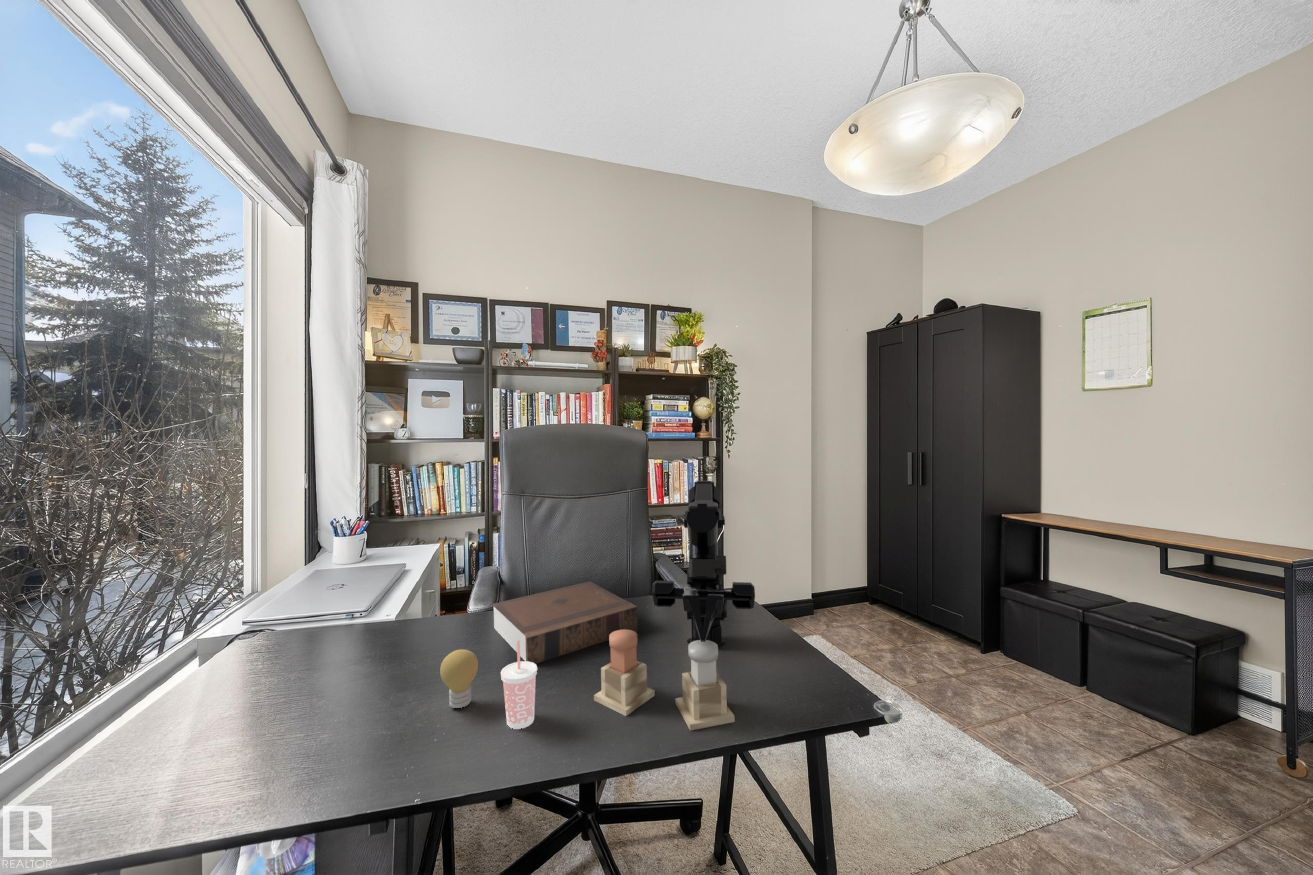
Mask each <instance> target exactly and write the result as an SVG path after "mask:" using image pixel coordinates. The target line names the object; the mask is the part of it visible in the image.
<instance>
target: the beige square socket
mask: <svg viewBox="0 0 1313 875" xmlns="http://www.w3.org/2000/svg"><path fill="white" fill-rule="evenodd" d="M681 689H682V690H681V691H682V692H681V693H682V696H681V697H676V698H675V706H676V707H677V709H678V710H679V712H680V715H681V716H682V718H683V720H684V721H685V723H686V724H685V725H686V726H687V727H688V729H689V731H696V730H701V729H705V728H711V727H716V726H721V725H726V724H730V723H735V722H736V721H735V718H736V717H735V715H734V713H733V712H732V711H731V709H730V708H729V706H728V705H727V700H728V699H727V684H726V683H725V681H724V680H723V679H722V678H721V676H720V675H719V674H718V673H717V671H716V684H710V685H705V686H699V687H697V686H696V685H695V683H694V682H693V680H692V679H691V671H688V672H687V671H686V672H682V673H681Z"/></svg>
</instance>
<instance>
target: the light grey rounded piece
mask: <svg viewBox="0 0 1313 875" xmlns="http://www.w3.org/2000/svg"><path fill="white" fill-rule="evenodd" d="M687 654H688V658H689V659H690V668H691V669H690V672H691V679H692V680H693V682H694V683H695V685H696V686H697V687H699V686H705V685H710V684H716V672H717V660H718V658H719V646H718V645H717V644H716V643H714V642H712V641H709V640H706V641H705V642H701V641H700V640H696V641H693V642H691V643H688V652H687Z"/></svg>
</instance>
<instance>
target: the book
mask: <svg viewBox="0 0 1313 875" xmlns="http://www.w3.org/2000/svg"><path fill="white" fill-rule="evenodd" d="M491 606H493V626H494V628H493V629H495V631H496V632H497V633H498V634H499V635H500V636H501V637H502V639H503V640H504V641H506V643H508V645H509V646H510V648H512V649H513V650H514V651H515V652H516V653H517V641H520V658H522V660H524V661H528V662H533V663H534V664H536V665H537V664H539V663H542V662H545V661H549V660H552V659H555V658H558V657H561V656H564V655H566V654H570V653H572V652H576V651H579V650H583V649H585V648H588V647H592V646H595V645H598V644H601V643H604V642H607V641H609V635H610V634H611V633H612V632H614V631H617V630H632V631H634V632H638V606H637V605H636V604H633V603H632V602H630V601H627V600H626V599H624V598H622V597H620V596H618V595H616V594H614V593H613V592H611V591H609V590H607V589H605V588H603V587H601V586H599V585H598V584H596V583H595V582H592V581H585V582H581V583H576V584H573V585H568V586H564V587H559V588H556V589H555V588H554V589H550V590H545V591H543V592H542V591H541V592H537V593H534V594H530V595H525V596H521V597H516V598H511V599H508V600H504V601H500V602H495V603H491Z"/></svg>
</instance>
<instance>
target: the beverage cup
mask: <svg viewBox="0 0 1313 875" xmlns="http://www.w3.org/2000/svg"><path fill="white" fill-rule="evenodd" d="M516 658H517V661H516V662H515V661H514V662H512V663H509V664H507V665H505V667H502V669H501V670H500V679H501V681H502V683H503V684H502V685H503V698H504V707H505V716H506V718H505V719H506V726H507V725H508V726H509V727H510V728H509V727H508V726H507V727H508V728H509V729H512V728H513V729H512V730H521V728H522V729H526V728H527V727H530V725H532V724H533V723H534V720H535V708H536V706H535V705H536V679H537V678H536V676H537V674H538V672H537V671H538V666H537V663H536V664H534V663H533V662H528V661H525V660H524V661H523V660H522V661H521V656H520V641H517V652H516Z"/></svg>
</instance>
